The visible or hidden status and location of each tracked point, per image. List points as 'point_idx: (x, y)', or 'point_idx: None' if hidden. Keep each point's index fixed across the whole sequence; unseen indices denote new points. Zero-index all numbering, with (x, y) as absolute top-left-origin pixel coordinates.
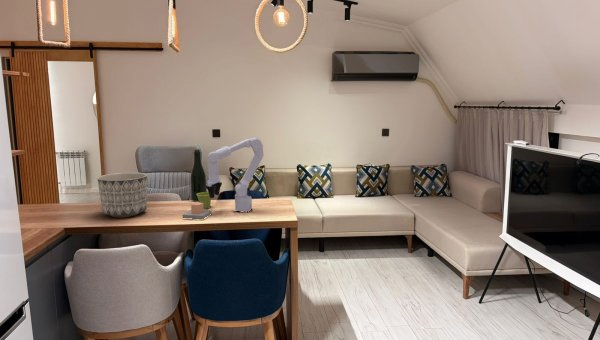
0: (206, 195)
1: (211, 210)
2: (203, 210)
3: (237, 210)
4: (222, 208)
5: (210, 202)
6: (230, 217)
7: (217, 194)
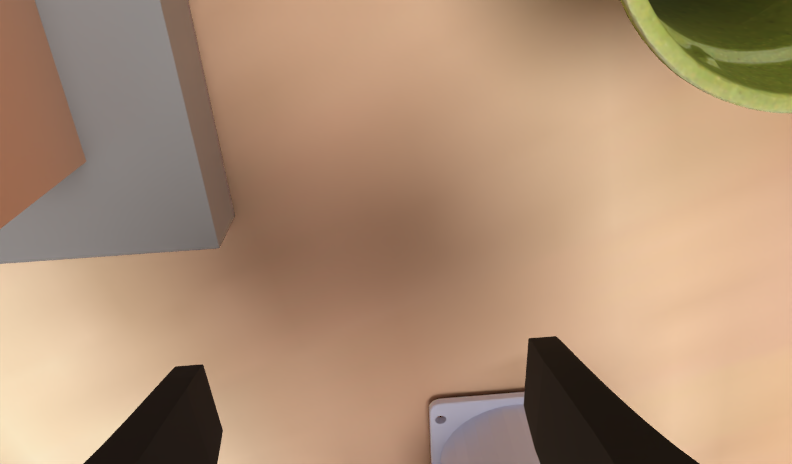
0: (634, 24)
1: (211, 248)
2: (64, 171)
3: (444, 450)
4: (607, 210)
5: (698, 12)
6: None
7: (530, 398)
